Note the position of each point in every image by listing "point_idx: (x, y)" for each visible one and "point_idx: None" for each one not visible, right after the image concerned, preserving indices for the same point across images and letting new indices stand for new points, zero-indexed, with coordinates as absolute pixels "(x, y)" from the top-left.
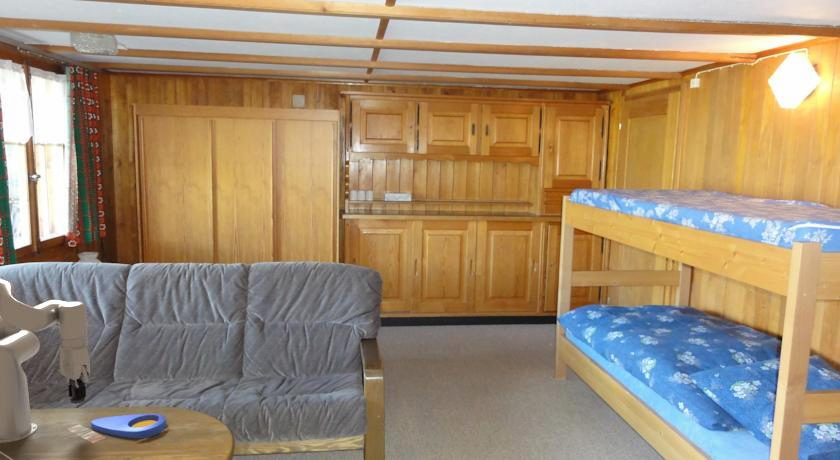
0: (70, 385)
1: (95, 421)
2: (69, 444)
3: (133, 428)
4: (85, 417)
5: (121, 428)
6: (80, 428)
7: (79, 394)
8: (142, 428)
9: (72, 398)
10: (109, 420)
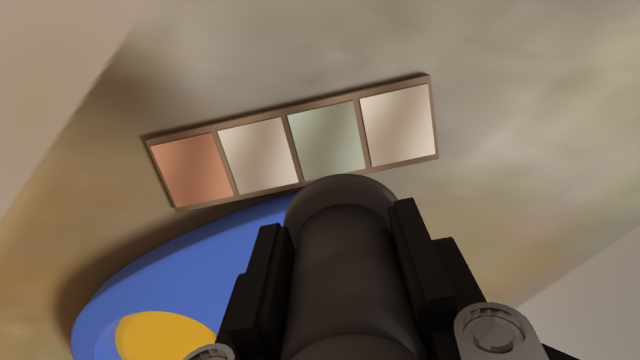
0: (423, 310)
1: None
2: (235, 54)
3: (107, 318)
4: (516, 196)
5: (153, 283)
6: (376, 144)
7: (234, 292)
8: (86, 341)
9: (343, 208)
10: None
